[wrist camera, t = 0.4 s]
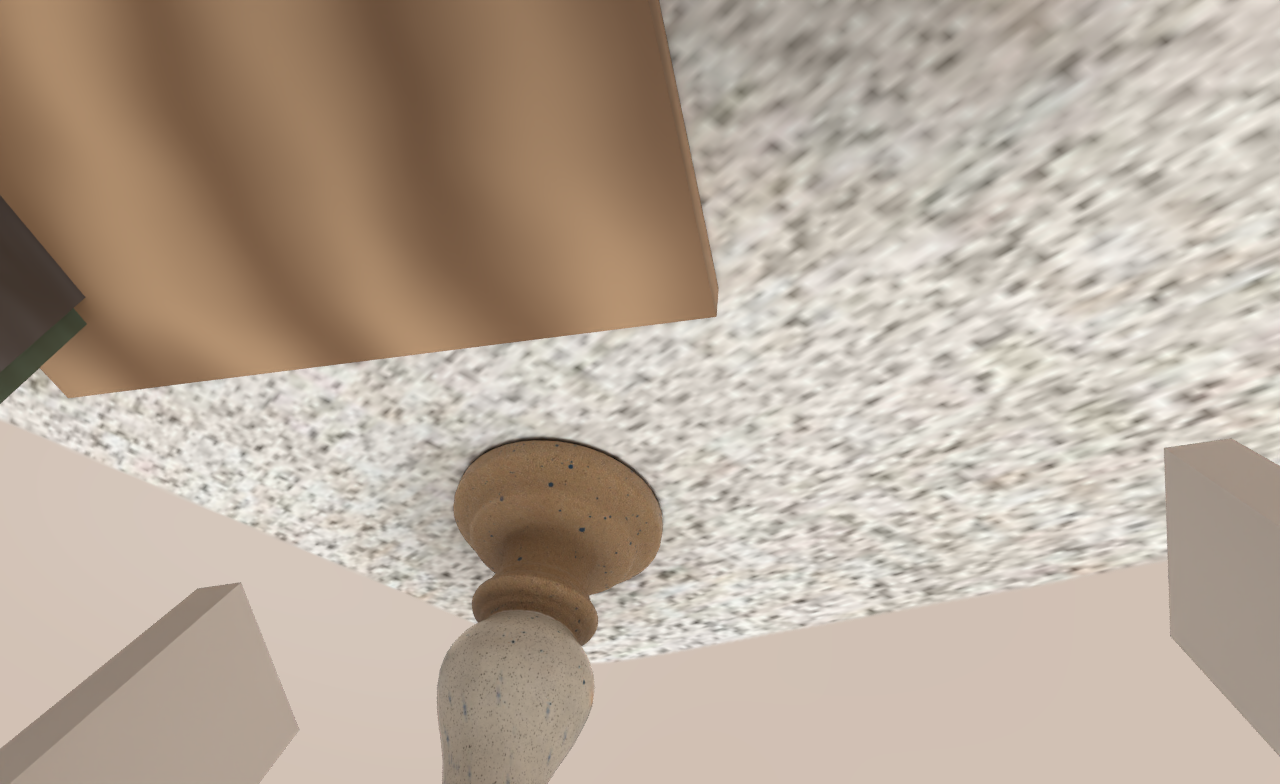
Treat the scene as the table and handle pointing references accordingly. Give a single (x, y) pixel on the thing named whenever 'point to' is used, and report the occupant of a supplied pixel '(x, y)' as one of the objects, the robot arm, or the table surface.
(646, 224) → the wooden bookend
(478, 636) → the candle holder
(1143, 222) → the table surface
